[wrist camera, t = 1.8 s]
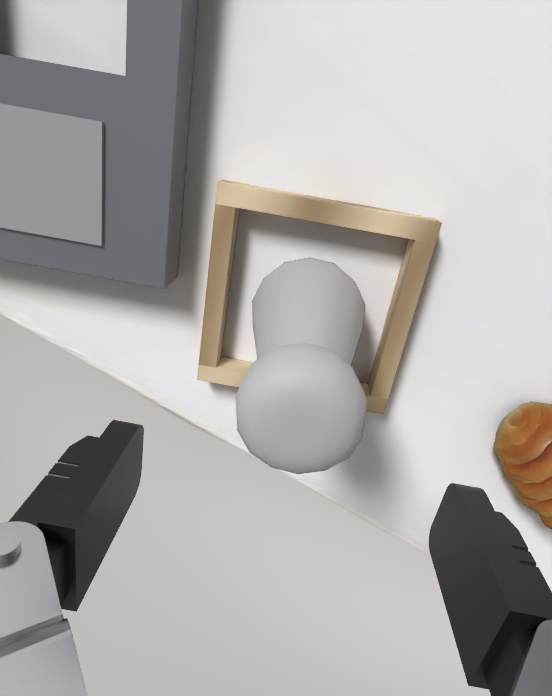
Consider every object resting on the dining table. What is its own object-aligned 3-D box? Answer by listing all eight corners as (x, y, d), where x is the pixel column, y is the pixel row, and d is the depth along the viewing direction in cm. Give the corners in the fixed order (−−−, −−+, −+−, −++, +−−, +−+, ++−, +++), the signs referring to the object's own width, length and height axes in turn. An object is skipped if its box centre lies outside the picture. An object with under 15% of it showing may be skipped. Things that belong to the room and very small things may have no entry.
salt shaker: (374, 263, 25) (426, 374, 13) (344, 356, 27) (364, 522, 15) (269, 237, 25) (223, 324, 13) (247, 333, 27) (193, 481, 15)
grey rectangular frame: (209, -154, 19) (193, -199, 16) (177, 276, 26) (162, 290, 24) (-82, -204, 19) (-143, -257, 16) (-31, 238, 26) (-67, 247, 24)
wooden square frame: (434, 218, 24) (441, 223, 22) (380, 400, 28) (383, 414, 27) (223, 180, 24) (217, 182, 22) (203, 368, 28) (197, 379, 27)
